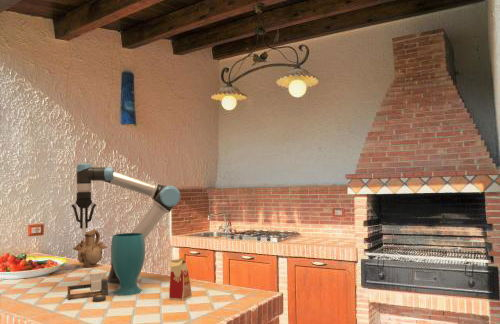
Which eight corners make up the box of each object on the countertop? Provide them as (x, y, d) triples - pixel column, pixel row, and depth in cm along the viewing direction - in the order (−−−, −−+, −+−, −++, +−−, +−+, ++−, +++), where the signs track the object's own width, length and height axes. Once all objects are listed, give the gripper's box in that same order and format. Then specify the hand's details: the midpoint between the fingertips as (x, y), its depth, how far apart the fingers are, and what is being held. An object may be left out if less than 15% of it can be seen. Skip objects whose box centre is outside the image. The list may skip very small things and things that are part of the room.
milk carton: (191, 296, 225) (191, 256, 226) (183, 300, 216) (182, 259, 217) (175, 294, 228) (175, 255, 228) (166, 299, 219) (166, 258, 220)
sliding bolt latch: (106, 292, 235) (106, 278, 236) (108, 295, 229) (108, 281, 229) (67, 296, 227) (67, 282, 227) (68, 299, 221) (68, 285, 221)
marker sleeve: (100, 287, 233) (100, 271, 233) (101, 289, 229) (101, 273, 229) (90, 289, 231) (90, 272, 231) (91, 290, 227) (91, 274, 227)
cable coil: (104, 298, 223) (104, 293, 223) (106, 300, 218) (106, 296, 218) (92, 299, 220) (92, 295, 221) (93, 302, 215) (93, 298, 215)
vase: (134, 286, 247) (134, 232, 249) (151, 291, 235) (151, 234, 236) (105, 292, 235) (105, 235, 237) (121, 297, 223) (121, 237, 224)
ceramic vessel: (72, 266, 310) (72, 230, 311) (99, 262, 322) (99, 227, 323) (80, 270, 296) (80, 232, 297) (109, 266, 308) (109, 230, 308)
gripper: (95, 191, 253) (95, 233, 252) (70, 191, 247) (70, 234, 246) (97, 191, 246) (97, 234, 245) (71, 192, 240) (71, 236, 239)
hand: (83, 234), depth 245 cm, fingers closed
